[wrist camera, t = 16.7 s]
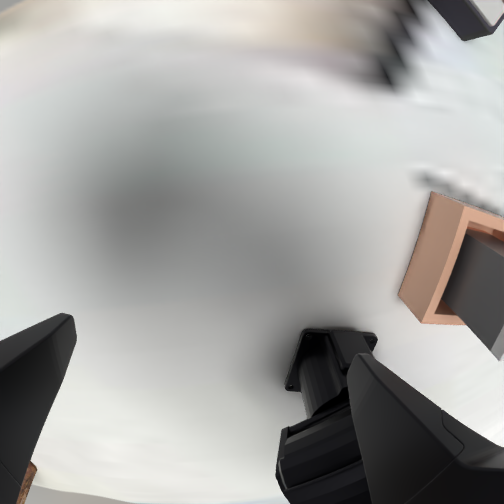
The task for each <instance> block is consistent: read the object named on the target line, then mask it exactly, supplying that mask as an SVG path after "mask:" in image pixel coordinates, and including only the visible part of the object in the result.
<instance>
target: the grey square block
mask: <svg viewBox="0 0 504 504" xmlns="http://www.w3.org/2000/svg"><path fill="white" fill-rule="evenodd" d="M441 299H442V300H443V301H444V302H445V303H446V304H447V305H448V306H449V307H450V308H451V309H452V310H453V311H454V313H455V314H456V315H457V316H458V317H459V318H460V319H461V320H462V321H463V322H464V323H465V324H466V325H467V326H468V327H469V328H470V329H471V330H472V332H473V333H474V334H475V335H476V336H477V337H478V338H479V339H480V340H481V341H482V342H483V344H484V345H485V346H486V347H487V348H488V349H489V350H490V351H491V353H492V354H493V355H494V356H495V357H496V358H497V359H498V361H503V360H504V242H503V241H502V240H500V239H498V238H496V237H495V236H493V235H491V234H489V233H488V232H486V231H483V230H480V229H476V228H472V227H468V226H467V229H466V232H465V235H464V238H463V241H462V244H461V247H460V250H459V253H458V256H457V259H456V261H455V264H454V267H453V269H452V272H451V275H450V277H449V280H448V282H447V285H446V287H445V290H444V292H443V294H442V297H441Z"/></svg>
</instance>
